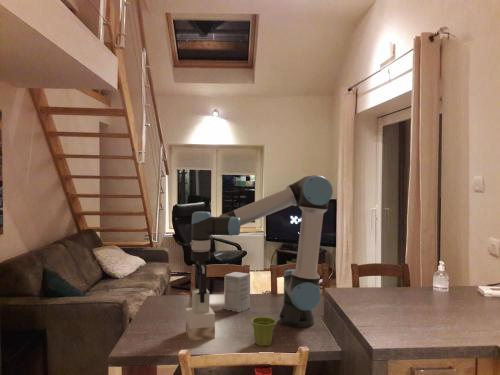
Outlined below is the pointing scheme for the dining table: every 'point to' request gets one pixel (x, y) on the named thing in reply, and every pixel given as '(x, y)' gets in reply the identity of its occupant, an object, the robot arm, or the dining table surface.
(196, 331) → the tower bottom block
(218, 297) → the dining table surface
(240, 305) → the supplement box
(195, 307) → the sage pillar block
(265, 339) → the plant pot
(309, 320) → the robot arm
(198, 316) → the tower top block
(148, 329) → the dining table surface
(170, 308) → the dining table surface
